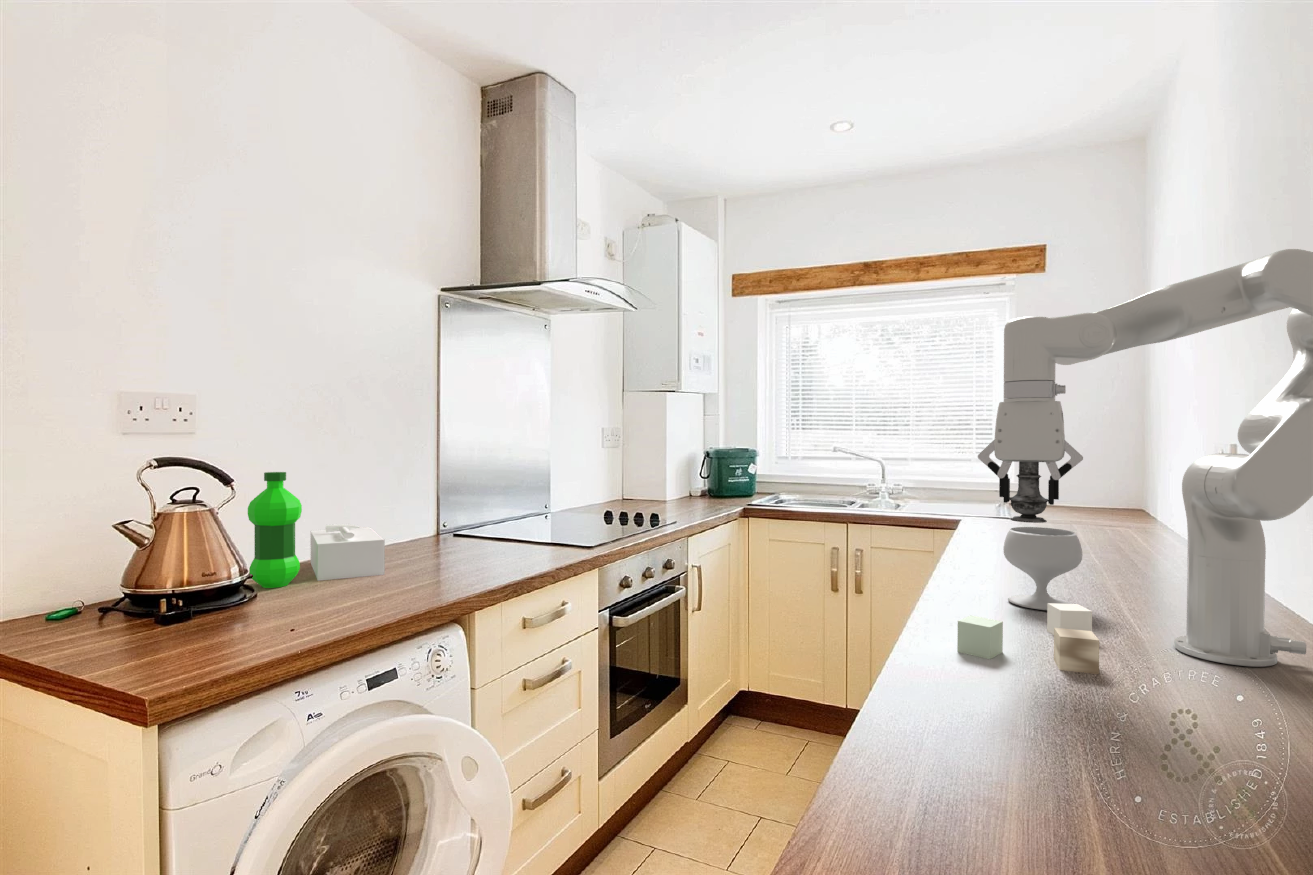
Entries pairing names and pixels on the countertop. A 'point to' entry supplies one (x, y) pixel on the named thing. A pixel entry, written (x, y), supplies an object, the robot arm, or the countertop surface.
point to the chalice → (1041, 560)
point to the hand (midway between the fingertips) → (1028, 501)
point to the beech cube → (1076, 650)
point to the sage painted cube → (980, 637)
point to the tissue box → (347, 552)
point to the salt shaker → (1028, 494)
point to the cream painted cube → (1068, 617)
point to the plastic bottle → (274, 533)
